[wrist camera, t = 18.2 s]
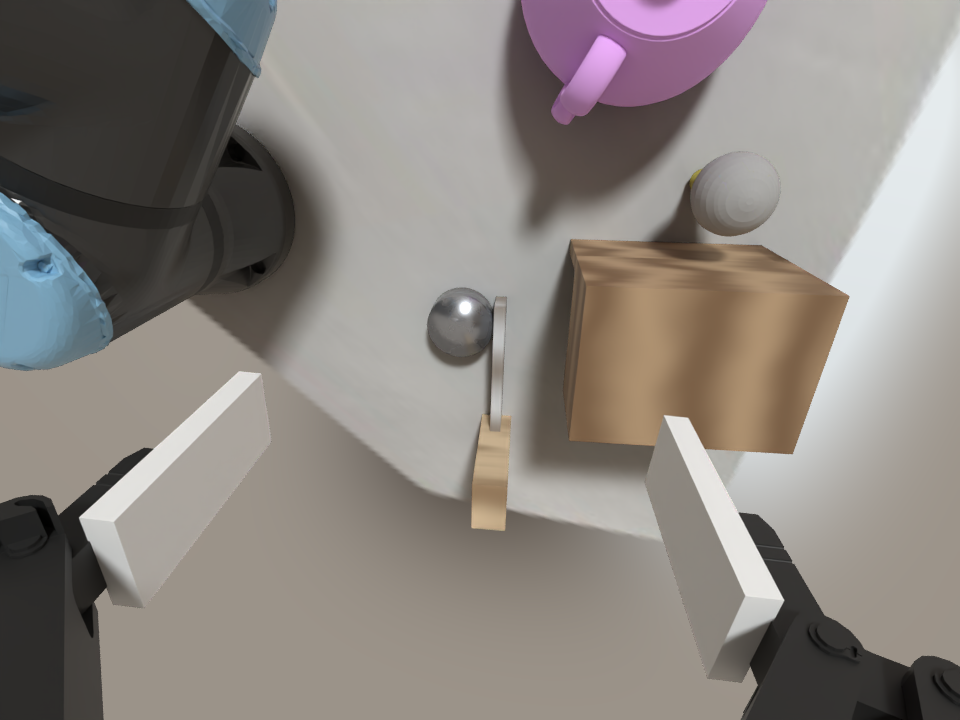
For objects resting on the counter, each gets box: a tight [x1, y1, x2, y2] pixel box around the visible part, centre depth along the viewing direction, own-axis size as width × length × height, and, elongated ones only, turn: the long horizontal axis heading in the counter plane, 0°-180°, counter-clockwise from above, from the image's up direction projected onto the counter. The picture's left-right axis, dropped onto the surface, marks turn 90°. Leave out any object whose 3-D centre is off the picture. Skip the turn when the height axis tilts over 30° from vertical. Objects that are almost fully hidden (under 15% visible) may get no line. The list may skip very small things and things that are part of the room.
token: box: [427, 288, 494, 357], centre depth 47 cm, size 6×6×2 cm
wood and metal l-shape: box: [471, 297, 511, 531], centre depth 45 cm, size 18×3×11 cm, turn 179°
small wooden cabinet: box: [563, 239, 849, 454], centre depth 40 cm, size 16×12×13 cm
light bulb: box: [690, 151, 781, 236], centre depth 36 cm, size 6×6×10 cm
